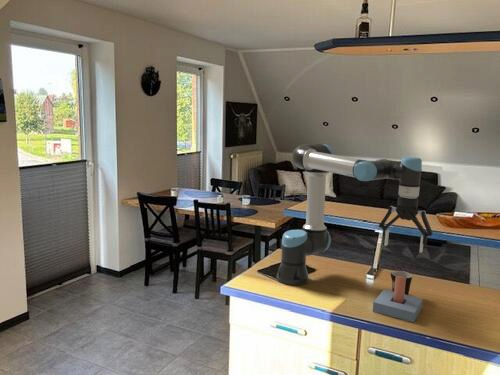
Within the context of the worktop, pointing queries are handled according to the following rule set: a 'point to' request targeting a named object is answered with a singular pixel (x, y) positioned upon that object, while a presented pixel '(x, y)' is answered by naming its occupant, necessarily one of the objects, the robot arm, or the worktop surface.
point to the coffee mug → (405, 274)
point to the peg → (399, 289)
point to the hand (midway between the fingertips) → (403, 248)
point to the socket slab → (398, 306)
